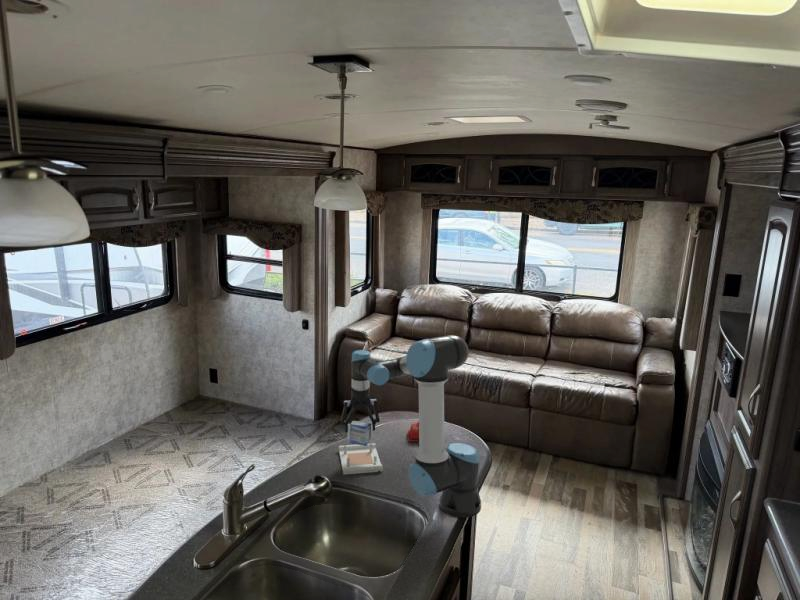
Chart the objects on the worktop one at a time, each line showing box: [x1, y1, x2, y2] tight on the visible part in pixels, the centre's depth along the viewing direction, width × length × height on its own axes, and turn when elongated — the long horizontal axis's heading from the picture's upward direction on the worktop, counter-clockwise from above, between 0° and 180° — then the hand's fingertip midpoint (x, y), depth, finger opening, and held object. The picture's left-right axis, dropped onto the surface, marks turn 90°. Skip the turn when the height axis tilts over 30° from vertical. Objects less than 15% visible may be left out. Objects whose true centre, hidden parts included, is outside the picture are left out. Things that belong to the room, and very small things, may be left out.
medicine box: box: [348, 420, 371, 446], centre depth 231 cm, size 8×4×9 cm, turn 73°
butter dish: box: [406, 420, 419, 442], centre depth 255 cm, size 12×12×8 cm
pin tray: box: [338, 442, 384, 475], centre depth 233 cm, size 20×16×4 cm
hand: (359, 438), depth 231 cm, fingers closed on medicine box, 9 cm apart
